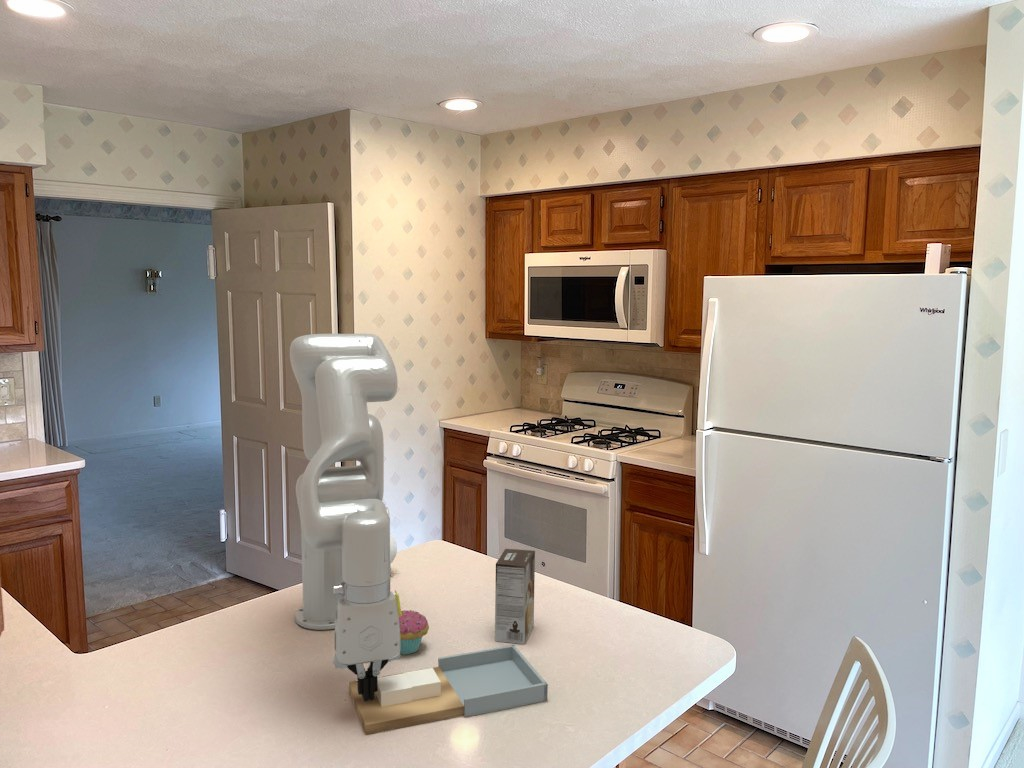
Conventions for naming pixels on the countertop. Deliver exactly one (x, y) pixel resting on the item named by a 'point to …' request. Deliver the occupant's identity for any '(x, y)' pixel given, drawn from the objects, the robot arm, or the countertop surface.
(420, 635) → the cupcake
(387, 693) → the tile
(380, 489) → the robot arm
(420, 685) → the tile
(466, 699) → the tray
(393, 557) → the light bulb
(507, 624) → the coffee box
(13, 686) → the countertop surface
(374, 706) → the board
